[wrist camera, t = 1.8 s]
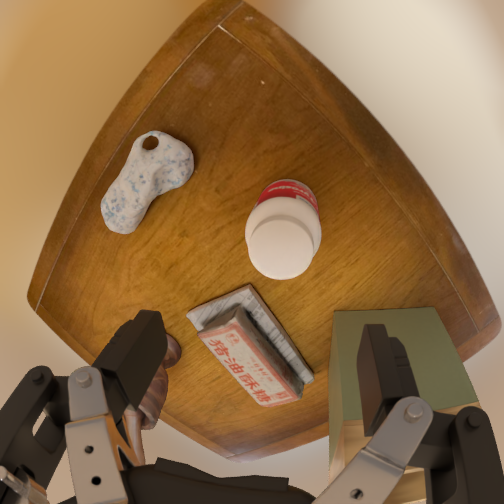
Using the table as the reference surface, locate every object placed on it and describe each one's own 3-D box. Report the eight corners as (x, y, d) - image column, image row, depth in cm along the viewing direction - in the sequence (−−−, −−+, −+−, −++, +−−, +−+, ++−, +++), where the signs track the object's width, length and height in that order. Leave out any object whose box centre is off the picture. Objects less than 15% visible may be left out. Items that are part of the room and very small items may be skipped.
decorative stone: (146, 242, 36) (126, 261, 31) (107, 209, 35) (83, 223, 30) (208, 156, 30) (191, 164, 26) (161, 119, 29) (138, 121, 25)
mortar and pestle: (211, 368, 44) (170, 483, 26) (175, 383, 47) (132, 482, 29) (156, 316, 41) (86, 428, 23) (125, 337, 44) (61, 433, 26)
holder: (478, 400, 19) (495, 447, 14) (438, 457, 24) (445, 495, 19) (343, 420, 22) (344, 477, 17) (328, 471, 26) (327, 513, 21)
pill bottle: (326, 191, 30) (338, 230, 20) (304, 242, 33) (303, 299, 23) (269, 169, 30) (253, 196, 20) (250, 221, 33) (227, 271, 23)
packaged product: (316, 399, 37) (254, 415, 40) (316, 374, 41) (258, 391, 44) (243, 303, 31) (175, 332, 35) (250, 280, 36) (187, 309, 39)
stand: (433, 306, 34) (478, 400, 19) (414, 368, 38) (438, 457, 24) (333, 311, 36) (343, 420, 22) (327, 374, 41) (328, 471, 26)
